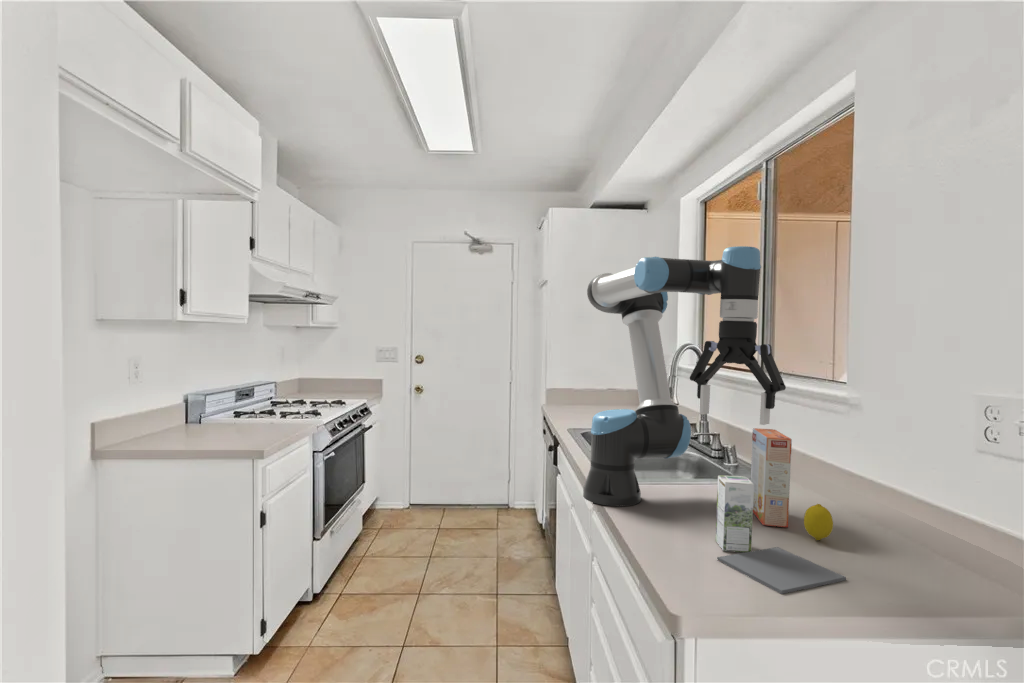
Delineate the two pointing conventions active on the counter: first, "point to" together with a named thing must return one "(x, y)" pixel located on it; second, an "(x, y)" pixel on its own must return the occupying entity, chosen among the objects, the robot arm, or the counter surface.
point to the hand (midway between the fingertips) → (733, 418)
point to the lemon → (818, 522)
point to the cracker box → (771, 476)
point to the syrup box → (734, 513)
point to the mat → (781, 569)
